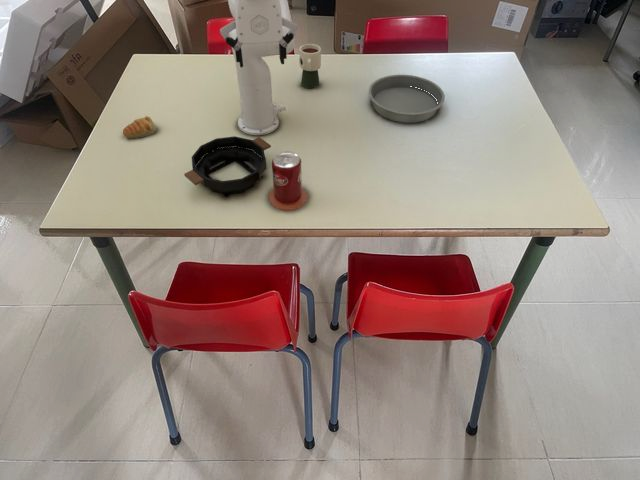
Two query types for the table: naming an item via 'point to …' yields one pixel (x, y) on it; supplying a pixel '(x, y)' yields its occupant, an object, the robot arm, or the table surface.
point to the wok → (232, 153)
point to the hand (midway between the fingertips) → (261, 63)
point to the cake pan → (405, 98)
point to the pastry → (139, 128)
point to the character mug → (310, 64)
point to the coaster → (288, 206)
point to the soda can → (287, 177)
